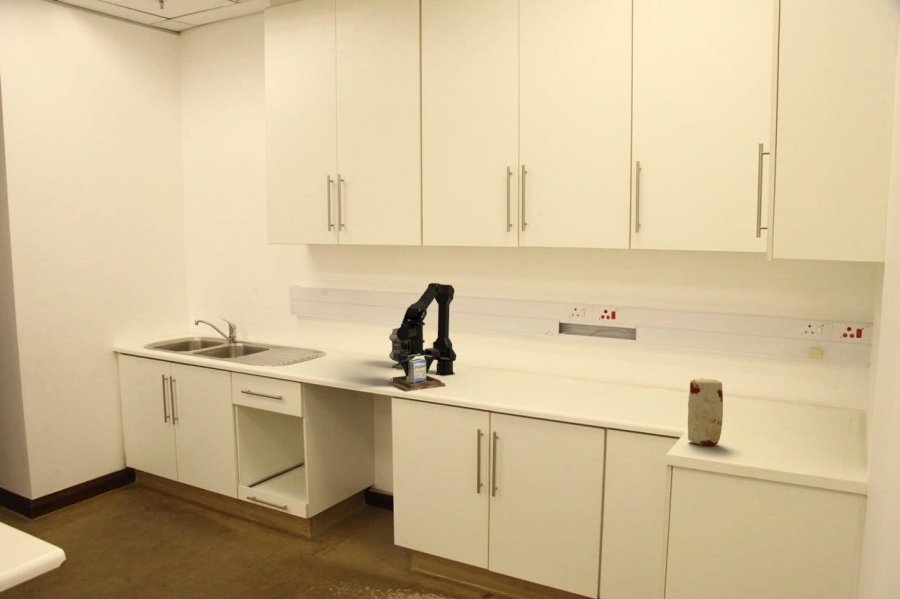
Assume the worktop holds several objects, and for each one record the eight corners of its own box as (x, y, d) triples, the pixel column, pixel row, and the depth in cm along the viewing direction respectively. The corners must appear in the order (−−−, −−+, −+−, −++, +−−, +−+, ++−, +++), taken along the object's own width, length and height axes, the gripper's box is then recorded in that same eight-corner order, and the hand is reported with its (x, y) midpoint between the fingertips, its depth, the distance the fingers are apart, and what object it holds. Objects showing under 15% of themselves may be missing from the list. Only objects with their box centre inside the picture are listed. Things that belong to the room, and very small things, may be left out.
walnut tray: (426, 378, 301) (426, 373, 301) (445, 385, 288) (445, 379, 287) (388, 383, 292) (388, 377, 292) (406, 391, 279) (405, 385, 278)
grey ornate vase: (403, 363, 336) (402, 326, 334) (420, 366, 327) (420, 328, 326) (384, 367, 327) (383, 329, 325) (401, 370, 319) (400, 331, 317)
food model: (685, 445, 208) (687, 378, 206) (688, 439, 214) (690, 374, 212) (720, 449, 204) (723, 381, 202) (723, 443, 210) (725, 377, 208)
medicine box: (414, 383, 286) (414, 362, 285) (406, 381, 288) (405, 361, 287) (426, 379, 292) (426, 359, 291) (418, 378, 294) (418, 358, 294)
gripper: (426, 332, 300) (426, 368, 301) (386, 336, 290) (387, 374, 292) (439, 336, 290) (439, 373, 292) (399, 340, 281) (399, 378, 282)
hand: (416, 374), depth 290 cm, fingers closed on medicine box, 9 cm apart
